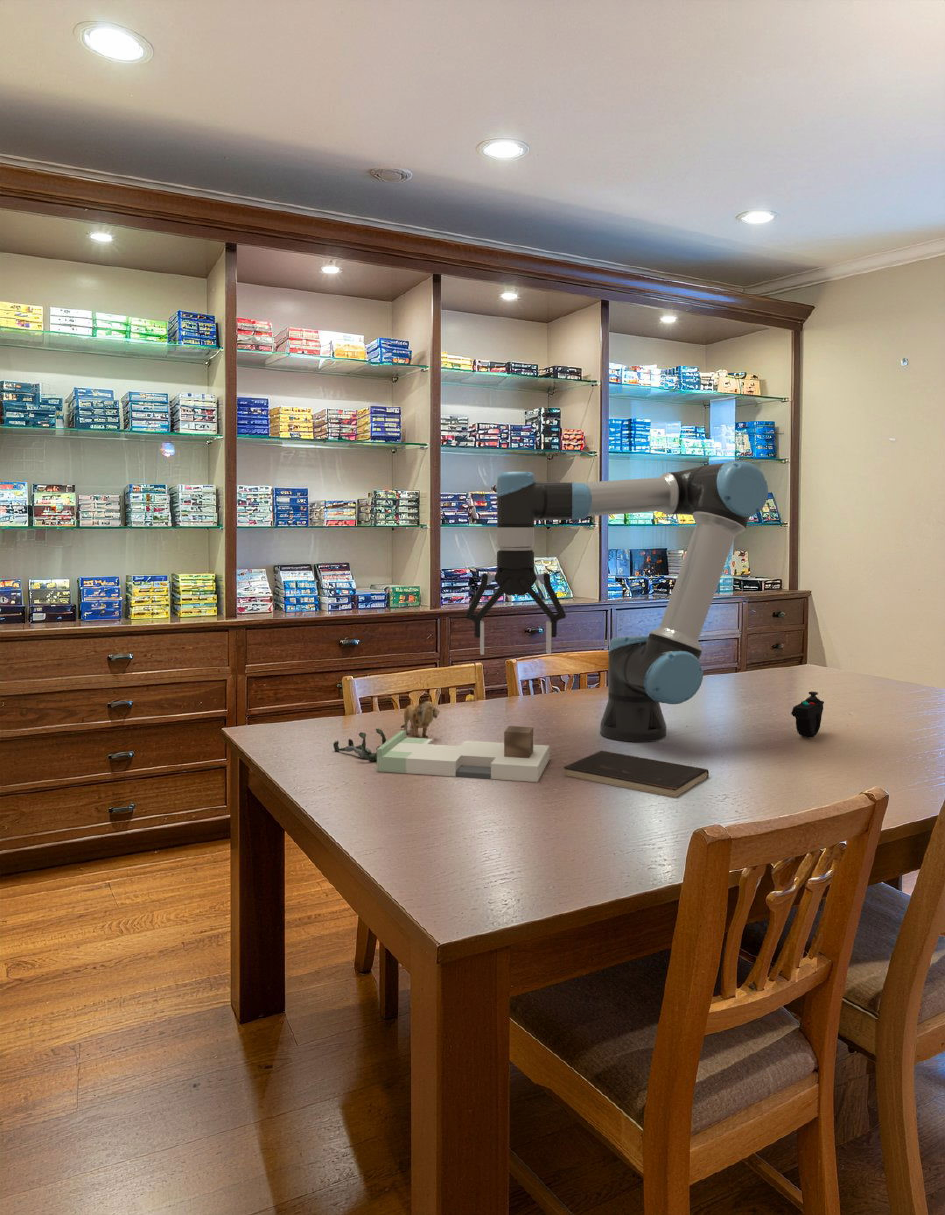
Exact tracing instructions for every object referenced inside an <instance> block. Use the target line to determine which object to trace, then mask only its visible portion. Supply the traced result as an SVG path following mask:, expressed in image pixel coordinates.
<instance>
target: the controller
mask: <svg viewBox="0 0 945 1215" xmlns="http://www.w3.org/2000/svg"><path fill="white" fill-rule="evenodd" d="M808 695H810V696H808V697H806V699H805V700H802V701H800V703H799V704H796V705H795V706H793V707H792V709H791V713H790V714H791V715H792V717H794V718H795V725H796V726H795V727H796V731H797V733H798V734H799V736H801V737H803V738H810V739H811V738H814V737H816V736H817V735H818V733H819V730H820V728H821V722H822V716H823V711H824V703H825V701H824V700H820V699H819V697H817V695H819V692H818V691H808Z"/></svg>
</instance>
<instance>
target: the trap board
mask: <svg viewBox="0 0 945 1215" xmlns="http://www.w3.org/2000/svg"><path fill="white" fill-rule="evenodd" d="M379 746H380V747H379V748H377V747H376V748H377V750H376V752H377V760H376V772H382V773H395V774H396V773H397V774H411V775H412V774H413V775H424V776H425V775H428V776H440V777H441V776H442V777H444V776H445V777H454V778H458V777H459V778H470V779H471V778H472V779H488V780H500V781H501V780H502V781H503V780H504V781H515V782H516V781H517V782H533V783H538V782H539V781H540V778H541V777H542V775H543V772H544V770H545V769H546V766H547V764H548V763H549V761H550V745H547V744H546V745H545V744H533V753H532V754H531V756H530V758H519V757H504V742H494V741H493V742H491V741H477V740H476V741H475V740H464V741H463V742H462V743H461V744H460V745H447V744H434V739H433V738H427V739H426V738H423V737H419V738H414V737H407V734H406V730H404V729H402V730H400V731H399V732H397V733H396V734H394V735H393V736H392V737H391V738H389V739H388V740H386V742H385V743H384V744H383V745H382V744H381V745H379Z"/></svg>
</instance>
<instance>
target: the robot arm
mask: <svg viewBox="0 0 945 1215" xmlns="http://www.w3.org/2000/svg"><path fill="white" fill-rule="evenodd" d="M495 497H496V520H497V523H496V547H498V548H499V550H497V552H496V573H495V574H490V573H486V572H483V573H481V578H480V583H479V584H480V585H479V586H478V589H477V591H476V592H475V595H474V596H473V598H472V600H471V602H470V605H469V607H468V608H467V611H466V612H465V619H467V620H470V621H472V622H473V623H474V625H473V626H474V627H473V628H474V637H475V638H476V639H479V652H480V656H482V655H485V622H484V621H483V620H482V619H483V618H484V617H485V616H486V615H487V613H488V612H489V611H490V610H491V609H492V608H493V606H494V605H495V604H496V603H497V601H498V600H499V599H500V598H501V597H502V596H503V595H506V596H516V595H517V596H525V595H527V594H528V595H529V596H530V597H531V598H532V600H533V601H534V602H535V603H536V605H538V607H539V608H540V609H541V610H542V611H543V613H544V614H546V616H547V617H548V619H549V620H546V622H545V624H546V625H545V626H546V628H545V630H546V631H545V632H546V634H545V637H546V638H545V641H546V642H545V652H546V653H545V654H547V655H552V638H556V637H557V634H558V632H557V631H558V627H557V626H558V622H559V621H561V620H564V619H565V618H566V616H567V614H566V613H565V611H564V608H563V606H562V605H561V602H560V600H559V599H558V597H557V595H556V593H555V590H554V588H553V586H552V584H551V576H550V574H549V573H548V572H543V573H540V574H536V572H535V552H534V550H532V548H534V547H535V522H536V521H537V522H538V521H545V520H546V521H549V520H550V521H557V520H558V521H560V520H563V521H564V520H567V521H568V520H571V521H574V520H585V519H586V518H587V517H594V516H595V517H596V516H597V517H598V516H609V515H622V514H624V515H625V514H636V513H638V514H639V513H649V512H650V513H652V512H662V514H665V515H667V516H668V515H670V516H671V515H672V516H673V515H687V516H689V515H690V516H692V517H693V520H694V522H695V528H694V530H693V532H692V535H691V539H690V541H689V544H688V547H687V548H686V552H685V556H684V558H683V560H682V563H681V567H680V569H679V572H678V575H677V577H676V579H675V584H674V586H673V589H672V591H671V594H670V597H669V600H668V603H667V605H666V607H665V608H666V609H665V610H664V613H663V615H662V616H663V617H662V619H661V623H660V624H659V627H657V628H656V629H654V630H651V631H650V632H649V634H648V635H639V636H636V635H635V636H618V637H617V636H616V637H612V638H611V639H610V641H609V645H608V651H607V655H608V677H607V678H608V681H607V682H608V683H607V684H608V694H607V695H608V697H607V702H606V703H607V704H606V706H605V709H604V712H603V715H602V718H601V721H600V726H599V731H600V732H599V733H600V735H602V736H603V737H604V738H607V739H611V740H616V741H623V742H632V743H633V742H635V743H637V742H638V743H639V742H641V743H642V742H655V741H659V740H662V739H664V738H666V737H667V723H666V721H665V717H664V714H663V711H662V708H661V704H668V705H679V704H683V703H685V702H687V701H689V700H691V699H692V698H693V697H694V696H695V695H696V694H697V692H698V691H699V689H700V687H701V685H702V683H703V679H704V678H703V677H704V669H703V668H702V664H701V661H700V657H701V654H702V652H703V649H702V647H701V644H700V643H699V638H700V637H701V633H702V630H703V627H704V625H705V622H706V619H707V617H708V613H709V610H710V608H711V606H712V605H711V604H712V602H713V600H714V598H715V594H716V592H717V589H718V586H719V583H720V580H721V577H722V575H723V572H724V569H725V566H726V563H727V560H728V557H729V554H730V552H731V550H732V546H733V544H734V540H735V538H736V537H737V536H738V535H740V534H741V533H744V532H745V531H746V529H747V526H748V524H749V521H750V518H751V517H752V516H755V515H756V514H758V513H760V511H762V510H763V509H764V507H765V505H766V503H767V501H768V497H769V486H768V482H767V480H766V478H765V475H764V473H763V472H762V471H761V470H760V468H758V466H756V465H755V464H753V463H751V462H748V461H738V460H737V461H736V460H731V461H727V462H722V463H714V464H704V465H700V466H695V467H692V468H688V469H684V470H678V471H669V472H664V473H662V474H661V475H660V477H649V478H646V477H645V478H633V479H617V480H603V481H588V482H587V481H585V482H574V481H573V482H539V481H536V479H535V474H534V473H533V471H532V472H531V471H504V472H503V471H502V472H501V473H500V474H499V475H498V477H497V483H496V494H495ZM492 581H495V583H496V584H497V585H498V588H497V589H496V591H494V593H493V594H492V595H491V596H490V598H489V599H488V600H487V601H486V602H485V604H484V605H483V606H482V607H481V609H479V611H477V613H476V614H475V611H476V609H477V607H478V605H479V603H480V601H481V599H482V597H483V595H484V592H485V591H486V589H487V586H488V585H490V584H492ZM536 581H539V584H541V585H543V587H544V589H545V590H546V593H547V595H548V597H549V599H550V601H551V602H552V604H553V606H554V609H555V610H556V613H554V612H553V611H552V610H551V609H550V607H549V606H548V605H547V604H546V603H545V602H544V601H543V599H542V598H541V597H540V596H539V595H538V593H536V592H537V591H535V590H534V589H533V585H535V583H536Z"/></svg>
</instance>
